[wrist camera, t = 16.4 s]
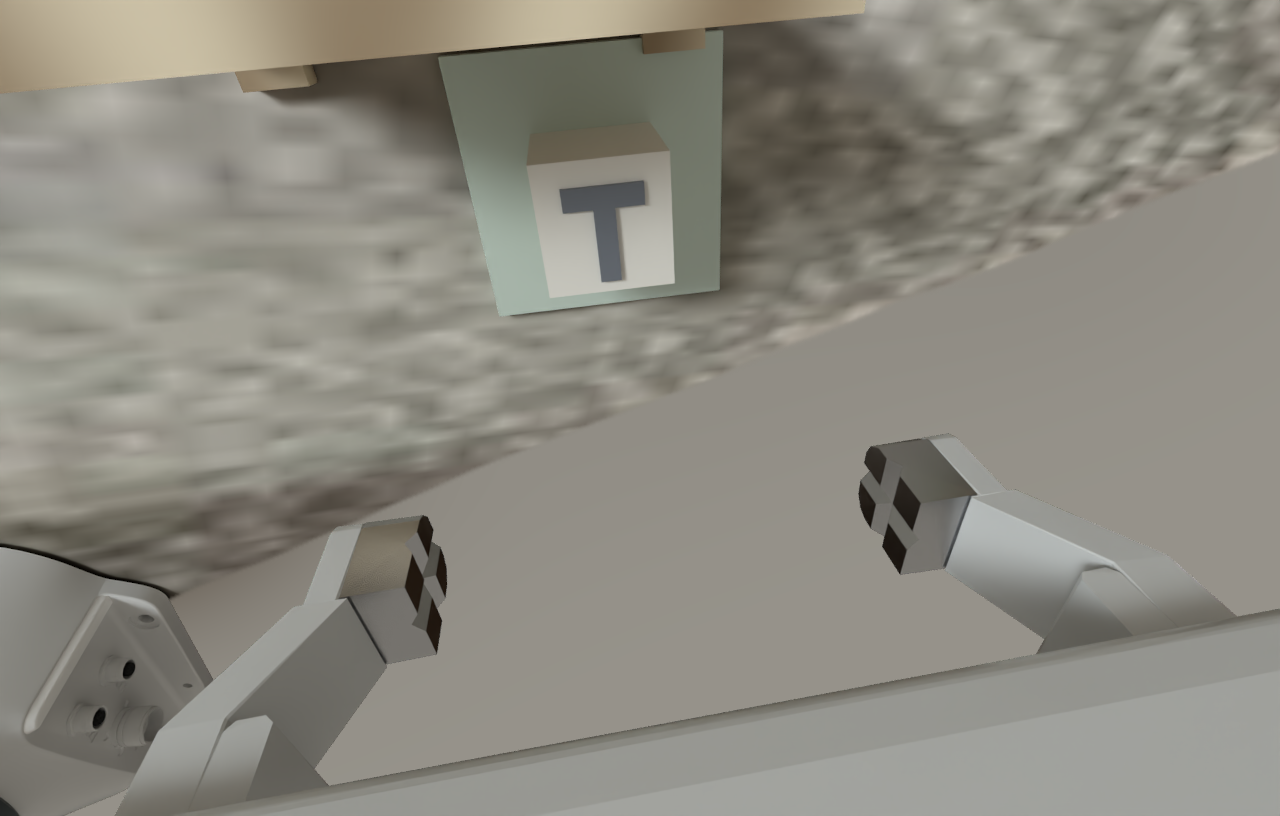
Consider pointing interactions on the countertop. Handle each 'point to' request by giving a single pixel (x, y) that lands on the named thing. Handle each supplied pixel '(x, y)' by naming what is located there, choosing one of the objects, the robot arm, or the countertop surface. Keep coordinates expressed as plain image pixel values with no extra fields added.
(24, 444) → the countertop surface
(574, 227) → the letter cube
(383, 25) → the screen
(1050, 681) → the robot arm
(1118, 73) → the countertop surface
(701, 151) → the pad
